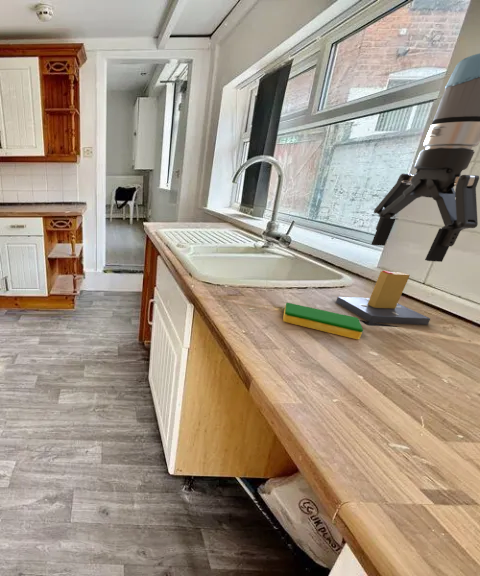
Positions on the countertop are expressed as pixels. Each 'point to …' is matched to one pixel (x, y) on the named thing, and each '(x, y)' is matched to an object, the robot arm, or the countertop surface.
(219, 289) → the countertop surface
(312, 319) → the dish sponge
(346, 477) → the countertop surface
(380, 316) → the plate
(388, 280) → the lock knob
